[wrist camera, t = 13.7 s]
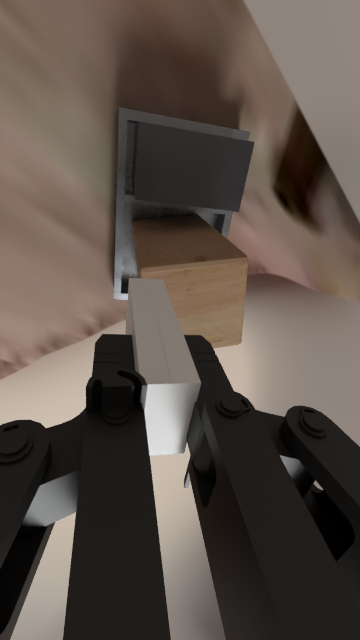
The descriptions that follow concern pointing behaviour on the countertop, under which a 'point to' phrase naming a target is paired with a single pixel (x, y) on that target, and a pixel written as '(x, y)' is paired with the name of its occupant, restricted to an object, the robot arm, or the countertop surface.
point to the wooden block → (195, 274)
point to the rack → (174, 177)
